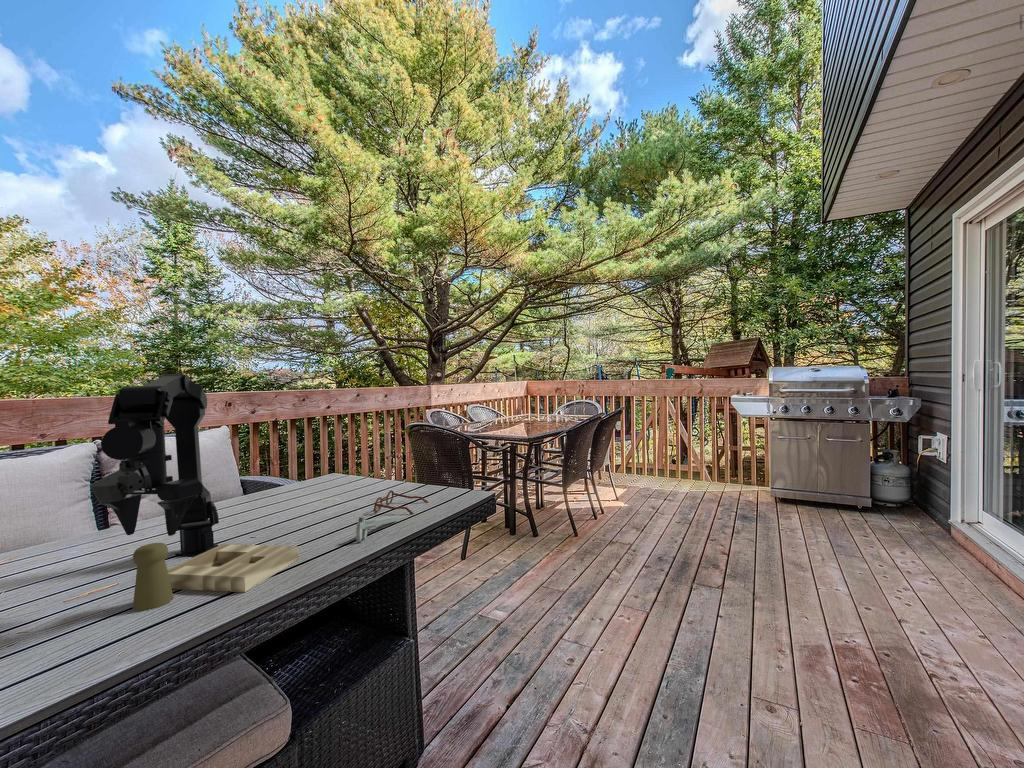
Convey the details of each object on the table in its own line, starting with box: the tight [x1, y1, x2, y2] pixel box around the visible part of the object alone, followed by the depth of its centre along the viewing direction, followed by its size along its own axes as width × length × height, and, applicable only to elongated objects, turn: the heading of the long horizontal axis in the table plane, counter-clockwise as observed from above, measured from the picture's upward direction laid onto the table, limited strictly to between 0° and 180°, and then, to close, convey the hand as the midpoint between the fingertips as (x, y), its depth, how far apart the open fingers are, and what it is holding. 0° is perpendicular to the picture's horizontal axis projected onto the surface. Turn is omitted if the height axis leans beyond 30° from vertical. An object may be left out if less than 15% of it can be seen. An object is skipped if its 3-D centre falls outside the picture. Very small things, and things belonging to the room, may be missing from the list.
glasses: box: [373, 490, 430, 515], centre depth 143 cm, size 13×13×5 cm
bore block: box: [167, 544, 299, 593], centre depth 98 cm, size 20×16×3 cm
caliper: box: [355, 515, 403, 543], centre depth 123 cm, size 20×1×6 cm, turn 164°
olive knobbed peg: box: [132, 542, 174, 612], centre depth 86 cm, size 6×6×11 cm
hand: (150, 534), depth 86 cm, fingers open, 9 cm apart
